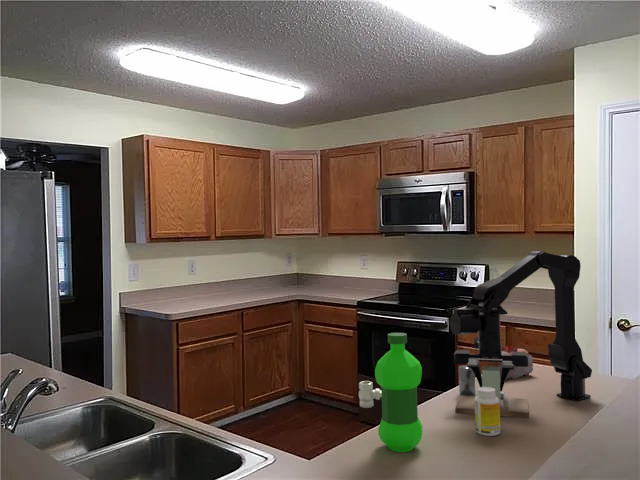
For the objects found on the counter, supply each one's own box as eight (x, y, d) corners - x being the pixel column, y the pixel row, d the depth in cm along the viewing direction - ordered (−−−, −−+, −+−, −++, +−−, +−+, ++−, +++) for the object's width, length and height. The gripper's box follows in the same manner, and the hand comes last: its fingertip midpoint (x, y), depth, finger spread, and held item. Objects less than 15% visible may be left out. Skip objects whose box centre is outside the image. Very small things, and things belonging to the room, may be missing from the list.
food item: (517, 371, 183) (516, 342, 183) (535, 376, 176) (534, 345, 176) (485, 376, 178) (484, 346, 178) (503, 382, 171) (502, 350, 171)
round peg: (467, 391, 161) (466, 364, 161) (479, 395, 158) (478, 367, 157) (456, 394, 159) (455, 367, 159) (467, 398, 155) (466, 369, 155)
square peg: (500, 396, 147) (499, 367, 147) (500, 401, 143) (499, 371, 143) (483, 395, 148) (482, 366, 148) (482, 400, 144) (481, 370, 144)
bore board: (527, 403, 148) (526, 391, 148) (528, 417, 137) (528, 404, 137) (459, 399, 154) (458, 387, 154) (455, 412, 143) (454, 400, 143)
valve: (360, 410, 148) (404, 408, 148) (359, 386, 148) (403, 384, 148) (357, 403, 154) (400, 401, 155) (357, 379, 154) (399, 377, 155)
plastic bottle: (434, 446, 120) (430, 333, 120) (403, 460, 113) (399, 340, 113) (399, 435, 128) (395, 328, 128) (368, 448, 121) (364, 335, 121)
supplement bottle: (505, 434, 126) (504, 389, 126) (487, 438, 124) (485, 393, 124) (488, 427, 131) (487, 384, 131) (470, 431, 129) (469, 388, 129)
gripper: (525, 327, 150) (527, 384, 150) (456, 326, 156) (458, 380, 156) (527, 334, 140) (529, 395, 140) (452, 333, 146) (454, 391, 146)
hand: (491, 390), depth 146 cm, fingers closed on square peg, 4 cm apart
